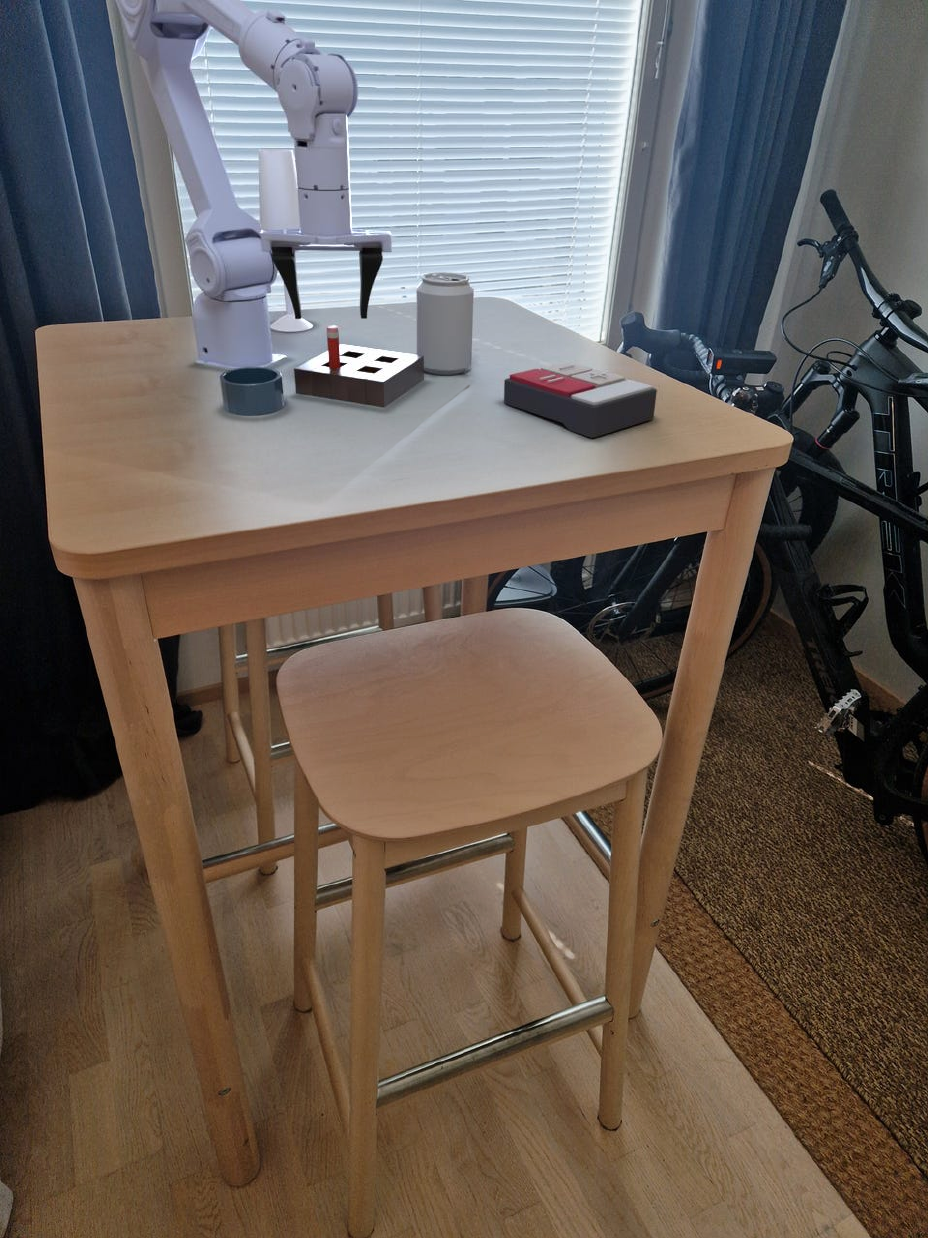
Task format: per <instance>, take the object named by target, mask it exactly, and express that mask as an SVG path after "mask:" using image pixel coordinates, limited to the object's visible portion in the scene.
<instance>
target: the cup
mask: <svg viewBox="0 0 928 1238" xmlns="http://www.w3.org/2000/svg"><path fill="white" fill-rule="evenodd" d="M219 383H220V392H221V399H222V405H223V409H224V411H226V412H227V413H229V414H231V415H237V416H242V417H259V416H266V415H271V414H274V413H277V412H280V411H281V410H283V409H284V407H285V394H284V386H283V385H284V384H283V376H282V373H281V372H280V371H279V370H277V369H275V368H271V367H243V368H236V369H228V370H226V371H224V372H222V373H221V374H220V375H219Z"/></svg>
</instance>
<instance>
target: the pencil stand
mask: <svg viewBox="0 0 928 1238" xmlns="http://www.w3.org/2000/svg"><path fill="white" fill-rule="evenodd" d="M339 349H340V366H341V367H340V368H339V369H338V368H331V367H329V359H328V350H327V351H325V352H323V353H321V354H319V355H318V356H315V357H313V358H312V359H309V360H307V361H305V362H303V363H302V364H299V365H298V366H296V367H294V368H293V376H294V377H293V378H294V386H295V394H298V395H304V396H308V397H309V396H310V397H315V398H322V399H329V400H335V401H339V402H341V401H342V402H347V403H353V404H360V405H365V406H370V407H371V406H372V407H378V408H383V409H385V408H386V407H387V406H389V405H390V404H392V403H393V402H395V401H396V400H398V398H401V396H403V395H404V394H405V393H407V392H409V391H410V390H412V389H413V388H415V387H416V386H417V385H418V384H420V383H422V382H423V381H424V380H425V371H424V356H421V355H417V354H414V353H405V352H398V351H392V350H384V349H378V348H377V349H376V348H371V347H363V346H356V345H349V344H342V343H341V344H340V343H339Z"/></svg>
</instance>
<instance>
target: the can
mask: <svg viewBox="0 0 928 1238" xmlns="http://www.w3.org/2000/svg"><path fill="white" fill-rule="evenodd" d="M420 278H421V279H422V281H421V282H420V283H419V284H418V286H416V355H421V356H424V372H426V373H428V374H433V375H440V376H452V375H458V374H461V373H464V372H465V371H466V369H467V368H468V367H470V366H471V365H472V354H473V350H472V349H473V348H472V347H473V323H474V322H473V321H474V293H475V289H474V287H472V285H471V284H470V277H469V275H467V274H464V273H460V272H453V271H452V272H450V271H435V272H428V273H424V274H422V275H421V277H420Z"/></svg>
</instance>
